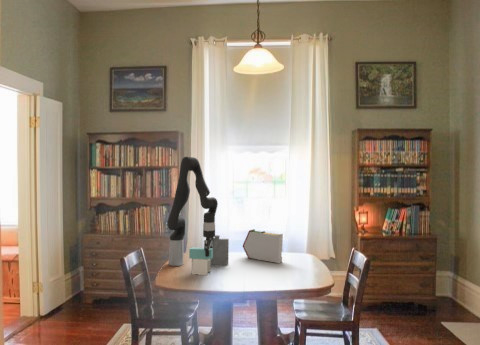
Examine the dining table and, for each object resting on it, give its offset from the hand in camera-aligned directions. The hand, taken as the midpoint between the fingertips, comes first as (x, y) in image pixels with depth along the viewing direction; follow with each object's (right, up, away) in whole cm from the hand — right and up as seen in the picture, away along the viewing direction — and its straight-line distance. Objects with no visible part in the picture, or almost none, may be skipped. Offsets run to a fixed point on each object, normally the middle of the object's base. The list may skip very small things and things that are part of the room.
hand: (208, 254), depth 220 cm
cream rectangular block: (-5, -12, +1) cm, 13 cm away
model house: (+36, -12, +36) cm, 53 cm away
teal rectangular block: (-5, -2, +1) cm, 5 cm away
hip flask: (+4, -12, +22) cm, 25 cm away
